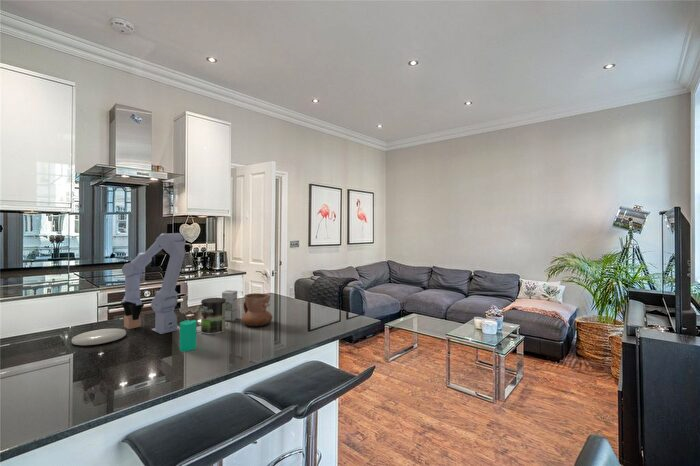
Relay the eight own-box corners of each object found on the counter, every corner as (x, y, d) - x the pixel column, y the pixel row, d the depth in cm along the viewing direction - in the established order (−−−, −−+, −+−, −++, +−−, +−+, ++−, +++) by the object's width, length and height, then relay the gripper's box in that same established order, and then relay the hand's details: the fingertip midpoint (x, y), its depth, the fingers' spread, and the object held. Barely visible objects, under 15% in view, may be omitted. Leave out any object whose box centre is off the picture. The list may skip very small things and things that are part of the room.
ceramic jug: (280, 324, 162) (280, 295, 162) (255, 331, 151) (255, 299, 151) (257, 318, 173) (257, 290, 173) (232, 324, 162) (232, 294, 162)
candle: (200, 347, 131) (200, 316, 131) (188, 352, 125) (188, 320, 125) (188, 344, 133) (188, 315, 132) (175, 350, 127) (175, 319, 127)
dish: (133, 337, 140) (133, 334, 140) (80, 350, 125) (80, 346, 125) (116, 329, 150) (116, 325, 150) (65, 339, 136) (65, 336, 136)
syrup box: (237, 318, 171) (237, 290, 171) (232, 321, 165) (232, 292, 165) (226, 317, 172) (227, 289, 171) (221, 321, 166) (221, 292, 166)
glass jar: (213, 336, 144) (213, 303, 144) (195, 332, 148) (195, 301, 147) (230, 329, 153) (230, 298, 153) (213, 326, 157) (213, 296, 157)
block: (140, 326, 155) (140, 315, 155) (128, 329, 151) (128, 318, 151) (136, 324, 158) (136, 314, 158) (124, 327, 154) (124, 316, 154)
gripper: (116, 288, 155) (116, 317, 155) (129, 292, 147) (129, 323, 147) (133, 286, 161) (132, 313, 161) (146, 290, 152) (146, 319, 153)
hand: (132, 318), depth 154 cm, fingers open, 7 cm apart
